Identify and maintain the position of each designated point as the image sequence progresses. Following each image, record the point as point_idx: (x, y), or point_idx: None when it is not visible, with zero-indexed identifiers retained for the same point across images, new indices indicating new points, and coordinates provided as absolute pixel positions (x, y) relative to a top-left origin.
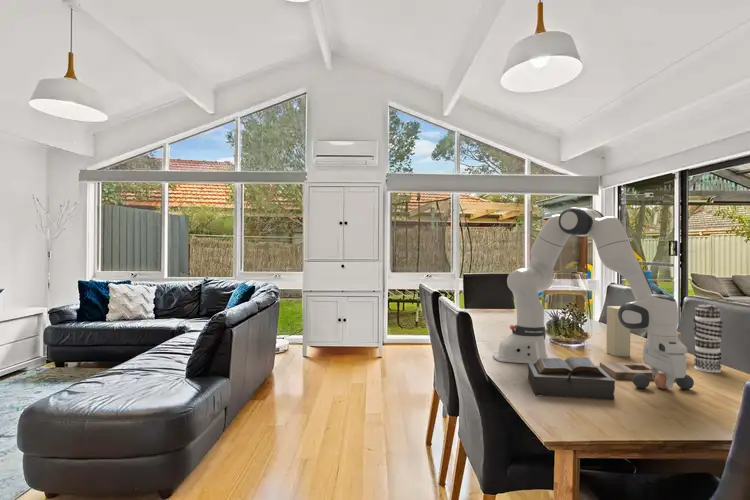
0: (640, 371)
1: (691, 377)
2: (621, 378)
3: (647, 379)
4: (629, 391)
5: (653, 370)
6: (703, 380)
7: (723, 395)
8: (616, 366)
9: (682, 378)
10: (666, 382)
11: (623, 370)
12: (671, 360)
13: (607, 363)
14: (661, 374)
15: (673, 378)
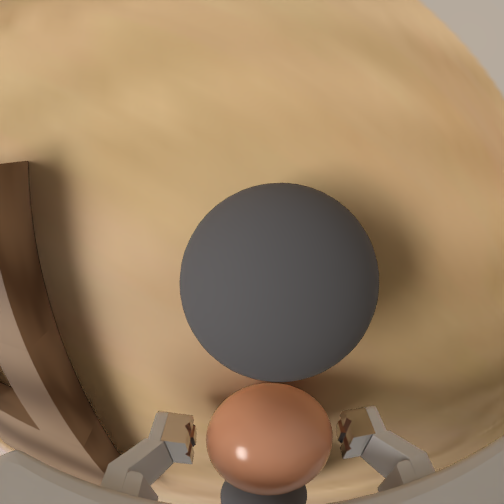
0: (47, 419)
1: (329, 231)
2: None
3: (301, 501)
4: (311, 488)
5: (148, 482)
6: (40, 6)
7: (415, 44)
8: (22, 440)
9: (339, 361)
10: (362, 452)
11: (74, 464)
12: None
13: (2, 434)
14: (284, 493)
15: (419, 459)
